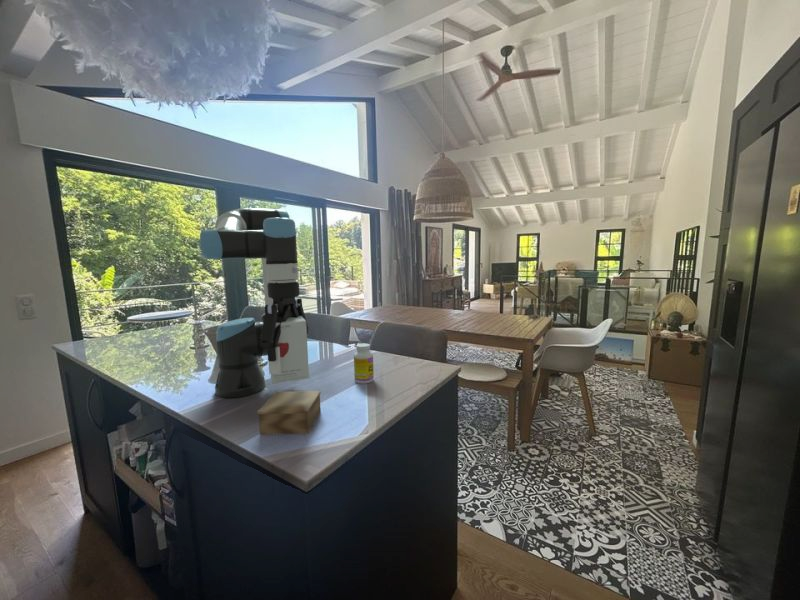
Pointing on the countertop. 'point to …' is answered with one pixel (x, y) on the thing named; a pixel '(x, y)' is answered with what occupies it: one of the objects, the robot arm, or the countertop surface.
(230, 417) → the countertop surface
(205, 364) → the countertop surface
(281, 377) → the supplement box
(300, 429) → the walnut box
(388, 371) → the countertop surface
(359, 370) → the supplement bottle
